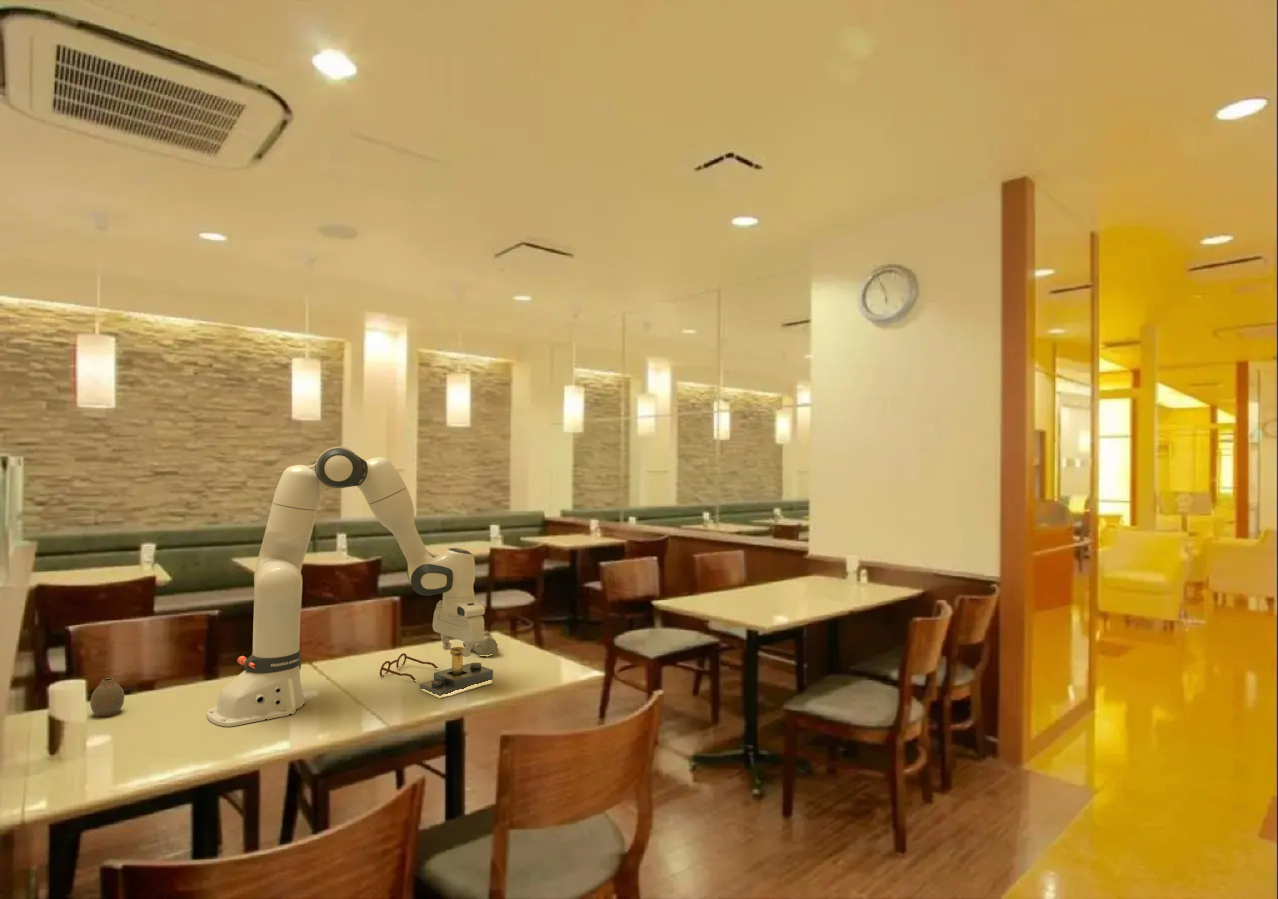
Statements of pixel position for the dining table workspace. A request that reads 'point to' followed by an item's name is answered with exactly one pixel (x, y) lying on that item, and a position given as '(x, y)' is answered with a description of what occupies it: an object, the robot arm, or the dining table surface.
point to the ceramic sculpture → (485, 645)
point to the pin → (457, 660)
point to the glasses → (402, 664)
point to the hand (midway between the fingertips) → (456, 653)
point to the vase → (107, 698)
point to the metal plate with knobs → (457, 679)
